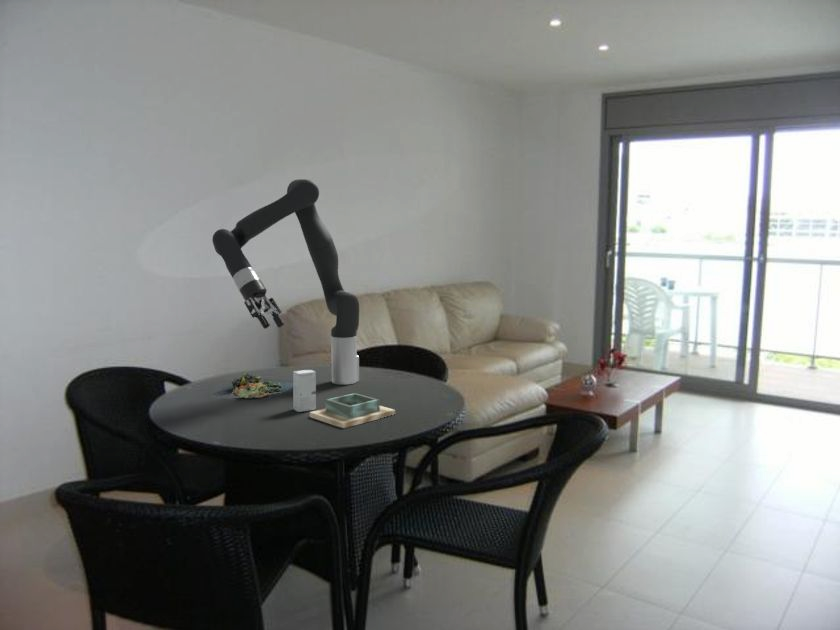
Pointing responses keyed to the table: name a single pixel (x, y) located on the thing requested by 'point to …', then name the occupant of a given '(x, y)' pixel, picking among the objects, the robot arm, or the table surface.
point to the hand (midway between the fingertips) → (274, 326)
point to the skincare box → (304, 390)
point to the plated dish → (254, 387)
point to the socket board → (351, 410)
